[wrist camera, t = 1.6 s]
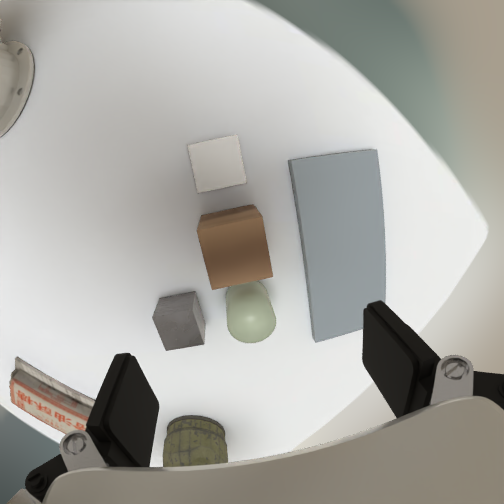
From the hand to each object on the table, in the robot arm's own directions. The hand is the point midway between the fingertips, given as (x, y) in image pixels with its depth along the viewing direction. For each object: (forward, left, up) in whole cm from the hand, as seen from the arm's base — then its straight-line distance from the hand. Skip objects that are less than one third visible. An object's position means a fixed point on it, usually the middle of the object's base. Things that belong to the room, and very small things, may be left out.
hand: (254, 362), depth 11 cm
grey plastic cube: (-7, 0, -19) cm, 20 cm away
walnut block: (0, 0, -19) cm, 19 cm away
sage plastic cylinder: (+7, 0, -19) cm, 20 cm away
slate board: (+4, +11, -19) cm, 22 cm away
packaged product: (+20, -32, -19) cm, 42 cm away
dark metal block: (+7, -7, -19) cm, 21 cm away
